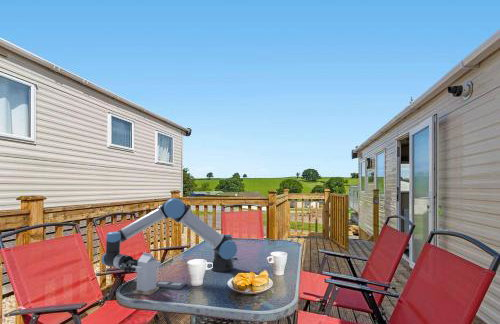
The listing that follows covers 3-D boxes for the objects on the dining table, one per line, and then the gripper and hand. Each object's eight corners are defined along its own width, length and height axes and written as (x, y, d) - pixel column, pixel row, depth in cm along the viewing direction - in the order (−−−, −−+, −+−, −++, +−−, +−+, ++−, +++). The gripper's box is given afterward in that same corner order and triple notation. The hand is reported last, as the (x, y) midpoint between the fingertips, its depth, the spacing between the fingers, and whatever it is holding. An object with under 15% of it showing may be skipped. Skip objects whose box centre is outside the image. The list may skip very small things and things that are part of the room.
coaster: (159, 288, 170) (159, 286, 170) (150, 294, 160) (150, 293, 160) (142, 287, 171) (142, 285, 171) (132, 293, 161) (132, 291, 161)
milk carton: (145, 292, 161) (146, 255, 162) (136, 290, 164) (137, 253, 166) (156, 288, 167) (157, 252, 168) (147, 286, 170) (148, 251, 172)
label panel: (186, 284, 177) (186, 281, 177) (180, 289, 168) (180, 286, 168) (160, 282, 180) (160, 280, 180) (152, 287, 171) (153, 285, 171)
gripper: (141, 264, 186) (167, 269, 176) (103, 274, 164) (131, 280, 154) (141, 251, 187) (167, 255, 176) (104, 259, 165) (131, 265, 154)
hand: (150, 267), depth 165 cm, fingers open, 13 cm apart
